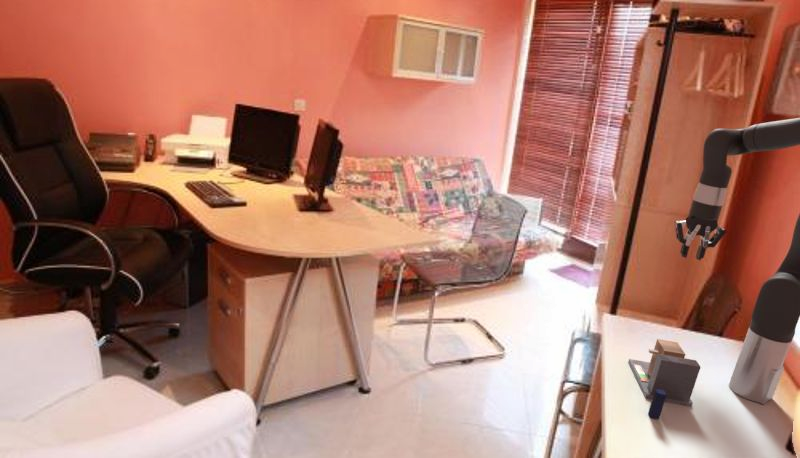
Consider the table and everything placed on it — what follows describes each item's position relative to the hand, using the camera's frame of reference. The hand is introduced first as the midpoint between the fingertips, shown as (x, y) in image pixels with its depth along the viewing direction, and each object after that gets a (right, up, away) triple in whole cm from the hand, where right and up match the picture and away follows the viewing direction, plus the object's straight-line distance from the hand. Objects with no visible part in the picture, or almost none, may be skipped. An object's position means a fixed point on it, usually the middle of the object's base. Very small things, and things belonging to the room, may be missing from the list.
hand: (690, 257), depth 156 cm
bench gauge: (-17, -32, -16) cm, 39 cm away
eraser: (-25, -36, -30) cm, 53 cm away
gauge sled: (-18, -31, -17) cm, 39 cm away
